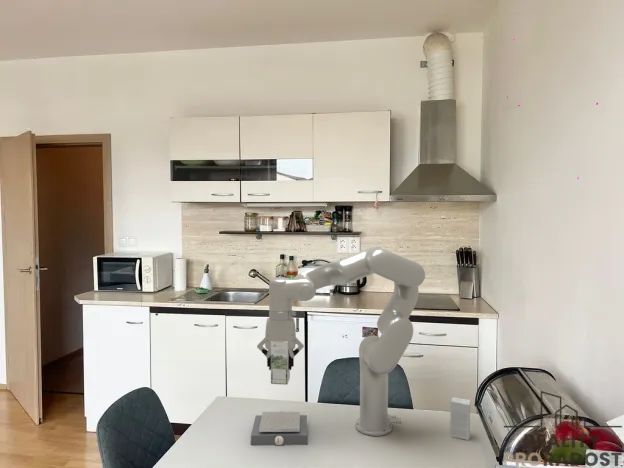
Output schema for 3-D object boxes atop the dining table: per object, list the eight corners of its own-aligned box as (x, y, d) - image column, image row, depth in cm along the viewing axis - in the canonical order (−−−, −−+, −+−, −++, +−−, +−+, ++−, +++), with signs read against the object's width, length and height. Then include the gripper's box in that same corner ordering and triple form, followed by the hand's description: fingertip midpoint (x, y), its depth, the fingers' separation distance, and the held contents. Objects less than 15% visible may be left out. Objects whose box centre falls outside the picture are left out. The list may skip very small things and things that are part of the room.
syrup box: (290, 378, 148) (290, 336, 147) (287, 385, 142) (287, 341, 141) (273, 377, 148) (273, 335, 148) (270, 384, 142) (270, 340, 142)
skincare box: (470, 434, 146) (471, 399, 145) (469, 440, 142) (469, 404, 141) (451, 430, 148) (452, 396, 148) (449, 436, 144) (450, 401, 144)
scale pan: (299, 414, 152) (299, 411, 152) (299, 431, 140) (299, 428, 140) (262, 414, 152) (262, 411, 151) (259, 431, 140) (259, 428, 140)
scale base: (307, 423, 153) (307, 415, 153) (307, 445, 138) (307, 436, 138) (255, 423, 153) (255, 415, 153) (250, 446, 138) (250, 436, 138)
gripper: (306, 312, 148) (306, 364, 149) (255, 312, 148) (255, 364, 148) (306, 317, 140) (306, 372, 141) (253, 317, 140) (253, 372, 141)
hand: (280, 368), depth 145 cm, fingers closed on syrup box, 6 cm apart
